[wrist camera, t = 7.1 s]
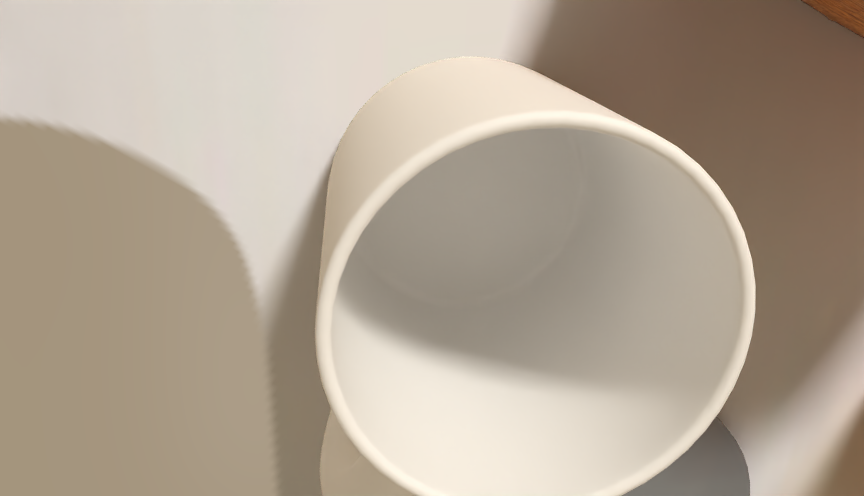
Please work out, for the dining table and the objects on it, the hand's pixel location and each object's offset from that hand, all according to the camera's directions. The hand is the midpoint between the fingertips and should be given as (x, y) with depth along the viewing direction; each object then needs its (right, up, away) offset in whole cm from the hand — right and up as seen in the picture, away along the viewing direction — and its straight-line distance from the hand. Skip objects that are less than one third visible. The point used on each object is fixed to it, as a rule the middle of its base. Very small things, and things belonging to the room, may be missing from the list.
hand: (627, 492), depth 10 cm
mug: (-3, +4, +14) cm, 15 cm away
